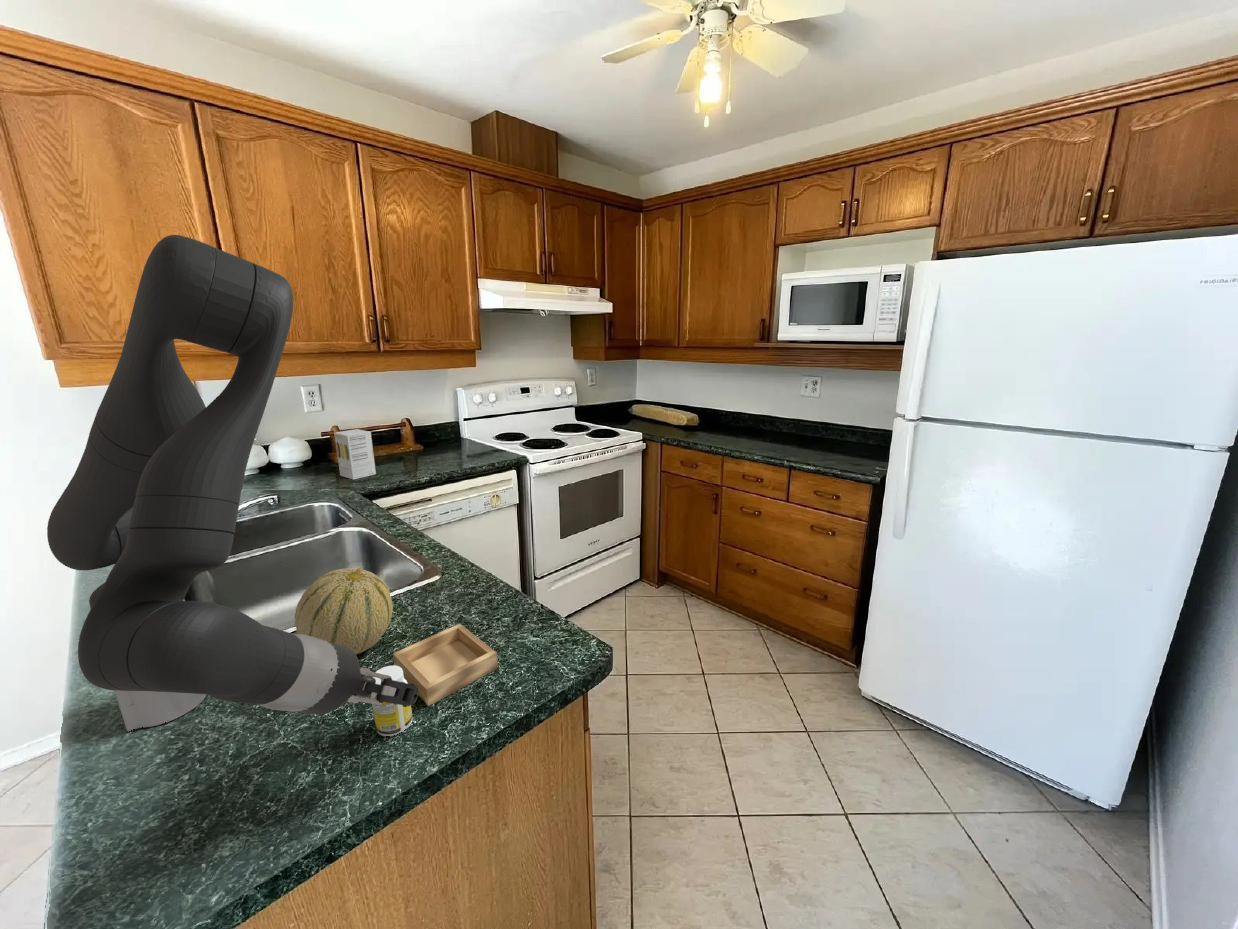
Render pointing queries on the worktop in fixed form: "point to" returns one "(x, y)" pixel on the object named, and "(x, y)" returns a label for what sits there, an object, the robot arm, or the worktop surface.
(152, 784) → the worktop surface
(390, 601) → the cantaloupe
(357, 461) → the supplement box
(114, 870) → the worktop surface
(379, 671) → the supplement bottle
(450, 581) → the worktop surface
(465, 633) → the box
